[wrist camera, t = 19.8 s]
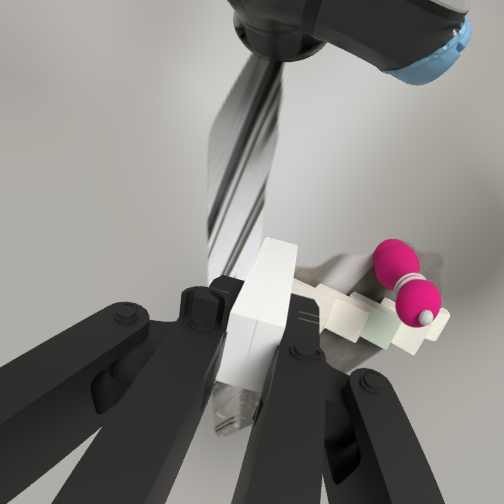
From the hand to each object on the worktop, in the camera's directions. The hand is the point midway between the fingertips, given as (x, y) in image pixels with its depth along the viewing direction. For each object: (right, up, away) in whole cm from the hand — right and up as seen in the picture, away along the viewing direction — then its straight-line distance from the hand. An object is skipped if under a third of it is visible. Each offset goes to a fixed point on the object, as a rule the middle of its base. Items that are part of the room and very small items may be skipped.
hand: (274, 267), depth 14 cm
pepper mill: (+22, 0, +33) cm, 40 cm away
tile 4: (+21, -10, +36) cm, 43 cm away
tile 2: (+9, -8, +37) cm, 39 cm away
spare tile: (+15, -9, +37) cm, 41 cm away
